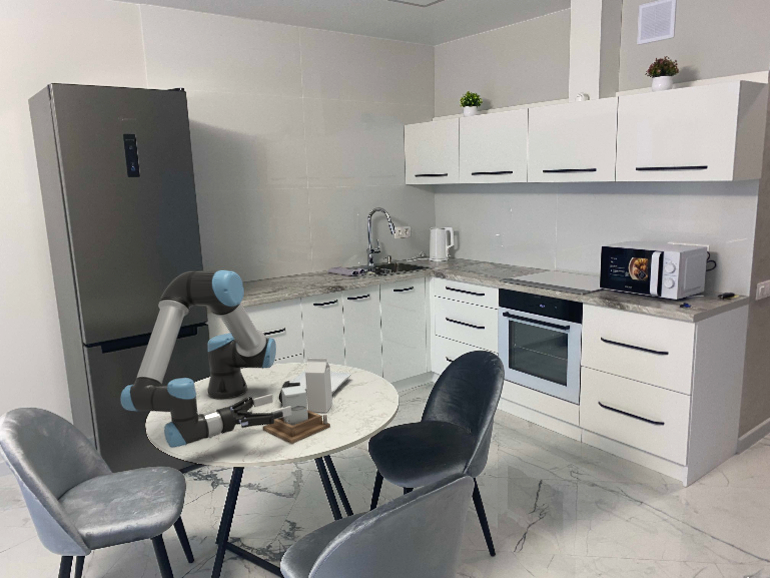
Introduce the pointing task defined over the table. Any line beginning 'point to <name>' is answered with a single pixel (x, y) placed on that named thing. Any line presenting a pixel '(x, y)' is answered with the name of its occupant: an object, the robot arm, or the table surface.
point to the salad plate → (336, 379)
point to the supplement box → (295, 404)
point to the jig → (297, 428)
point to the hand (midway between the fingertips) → (281, 404)
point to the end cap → (286, 385)
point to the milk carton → (318, 385)
